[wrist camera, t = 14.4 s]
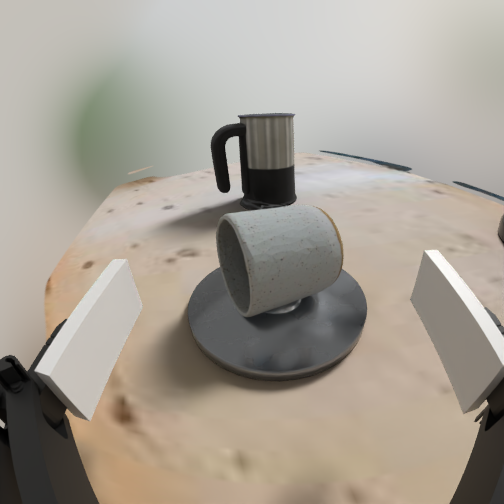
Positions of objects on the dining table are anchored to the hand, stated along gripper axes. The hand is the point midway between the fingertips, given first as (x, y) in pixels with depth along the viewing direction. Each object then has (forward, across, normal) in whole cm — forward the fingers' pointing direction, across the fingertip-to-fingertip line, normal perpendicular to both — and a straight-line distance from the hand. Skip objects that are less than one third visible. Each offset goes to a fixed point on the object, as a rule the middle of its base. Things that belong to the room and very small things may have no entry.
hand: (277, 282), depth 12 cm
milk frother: (+33, 0, -10) cm, 34 cm away
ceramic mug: (+10, -1, -8) cm, 13 cm away
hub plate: (+9, 0, -9) cm, 13 cm away
